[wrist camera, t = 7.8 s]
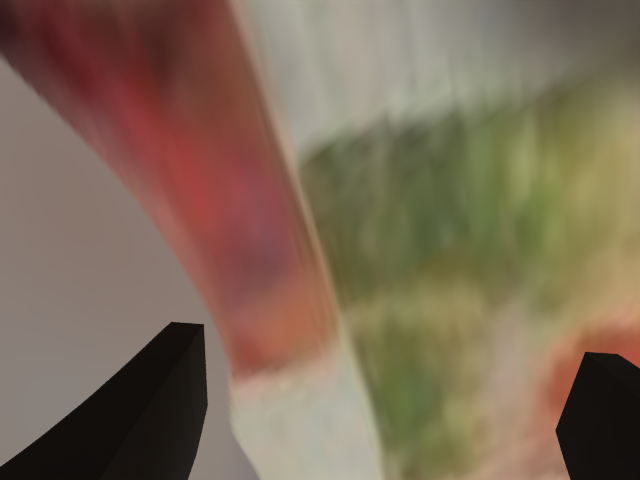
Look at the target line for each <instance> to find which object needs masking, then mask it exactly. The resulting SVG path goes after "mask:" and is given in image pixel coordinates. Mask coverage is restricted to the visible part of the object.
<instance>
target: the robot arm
mask: <svg viewBox="0 0 640 480" xmlns="http://www.w3.org/2000/svg"><path fill="white" fill-rule="evenodd" d="M205 362H206V360H205V340H204V324H192V323H179V322H171V323H170V324H169V325H167V326H166V327H165V328H164V329H163V330H162V331H161V332H160V333H159V334H158V335H157V336H156V337H154V338H153V339H152V340H151V341H150V342H149V343H148V344H147V345H146V346H145V347H144V348H143V349H142V350H141V351H140V352H139V353H137V355H135V356H134V357H133V358H132V359H131V360H130V361H129V362H128V363H127V364H126V365H125V366H124V367H122V368H121V369H120V370H119V371H118V372H117V373H116V374H115V375H114V376H112V377H111V378H110V379H109V380H108V381H107V382H106V383H105V384H103V385H102V386H101V387H100V388H99V389H98V390H97V391H96V392H95V393H93V394H92V395H91V396H90V397H89V398H88V399H87V400H85V401H84V402H83V403H82V404H81V405H79V406H78V407H77V408H76V409H74V410H73V411H72V412H71V413H70V414H68V415H67V416H66V417H65V418H63V419H62V420H61V421H60V422H58V423H57V424H56V425H55V426H53V427H52V428H51V429H50V430H49V431H47V432H46V433H45V434H44V435H42V436H41V437H40V438H39V439H37V440H36V441H35V442H33V443H32V444H31V445H30V446H28V447H27V448H25V449H24V450H23V451H21V452H20V453H19V454H18V455H16V456H15V457H13V458H12V459H11V460H9V461H8V462H6V463H5V464H4V465H2V466H1V467H0V480H188V477H189V474H190V472H191V468H192V466H193V463H194V460H195V457H196V454H197V449H198V445H199V441H200V437H201V433H202V428H203V424H204V420H205V415H206V411H207V406H208V403H207V384H206V383H207V382H206V363H205ZM555 431H556V434H557V438H558V441H559V444H560V448H561V451H562V455H563V458H564V461H565V464H566V467H567V470H568V473H569V476H570V479H571V480H640V368H638V367H637V366H635V365H634V364H632V363H631V362H629V361H628V360H626V359H625V358H623V357H621V356H620V355H618V354H608V353H594V352H585V354H584V357H583V359H582V362H581V365H580V367H579V370H578V373H577V375H576V378H575V380H574V383H573V386H572V388H571V391H570V394H569V396H568V399H567V401H566V404H565V407H564V409H563V412H562V415H561V417H560V420H559V422H558V425H557V428H556V430H555Z"/></svg>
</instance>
